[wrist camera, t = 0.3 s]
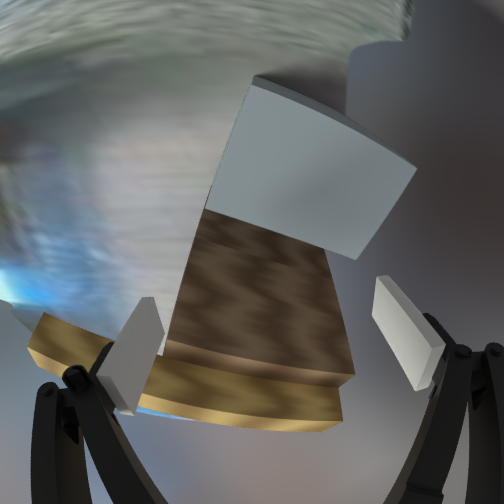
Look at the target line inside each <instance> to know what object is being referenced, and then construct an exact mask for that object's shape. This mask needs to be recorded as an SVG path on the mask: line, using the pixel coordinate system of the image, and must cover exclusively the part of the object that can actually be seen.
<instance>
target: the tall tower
mask: <svg viewBox="0 0 504 504" xmlns="http://www.w3.org/2000/svg"><path fill="white" fill-rule="evenodd" d="M211 187H212V186H211ZM210 191H211V189H210ZM210 191H209V194H210ZM209 194H208V197H209ZM208 197H207V200H208ZM207 200H206V203H207ZM206 203H205V206H206ZM205 206H204V209H203V212H202V215H201V218H200V221H199V225H198V228H197V231H196V234H195V237H194V240H193V244H192V247H191V250H190V254H189V257H188V260H187V264H186V267H185V271H184V274H183V278H182V281H181V285H180V289H179V292H178V296H177V300H176V303H175V307H174V311H173V315H172V319H171V323H170V327H169V331H168V335H167V339H166V343H165V347H164V351H163V356H164V357H168V358H171V359H175V360H179V361H183V362H186V363H190V364H194V365H198V366H203V367H207V368H211V369H216V370H221V371H225V372H230V373H235V374H240V375H246V376H251V377H257V378H263V379H269V380H276V381H282V382H290V383H297V384H306V385H315V386H325V387H337V388H338V387H340V386H341V385H342V384H344V383H345V382H347V381H348V380H349V379H351V378H352V377H353V376H355V371H354V366H353V361H352V356H351V352H350V347H349V343H348V338H347V334H346V330H345V326H344V322H343V318H342V313H341V309H340V306H339V302H338V298H337V294H336V290H335V286H334V283H333V279H332V276H331V272H330V268H329V265H328V261H327V258H326V255H325V252H324V248H321V247H318V246H315V245H312V244H309V243H307V242H304V241H301V240H298V239H295V238H292V237H289V236H286V235H283V234H281V233H278V232H275V231H272V230H269V229H266V228H263V227H260V226H257V225H254V224H251V223H248V222H245V221H242V220H239V219H236V218H233V217H230V216H227V215H224V214H221V213H217V212H214V211H211V210H208V209H205Z"/></svg>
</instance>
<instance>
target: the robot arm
mask: <svg viewBox="0 0 504 504" xmlns="http://www.w3.org/2000/svg"><path fill="white" fill-rule="evenodd" d="M372 316H373V318H374V320H375V321H376V323H377V325H378V326H379V328H380V330H381V331H382V333H383V335H384V336H385V338H386V340H387V341H388V343H389V345H390V347H391V348H392V350H393V352H394V354H395V355H396V357H397V359H398V361H399V362H400V364H401V366H402V368H403V369H404V372H405V373H406V375H407V377H408V379H409V381H410V382H411V384H412V386H413V388H414V390H415V391H418V390H421V389H424V388H427V387H428V386H429V384H430V382H431V380H432V379H433V381H434V383H435V386H434V388H433V390H432V392H431V394H430V396H429V399H430V400H429V404H428V406H427V409H426V412H425V415H424V418H423V421H422V423H421V426H420V429H419V431H418V434H417V436H416V439H415V441H414V444H413V446H412V448H411V451H410V453H409V455H408V457H407V459H406V461H405V464H404V466H403V468H402V470H401V472H400V474H399V476H398V478H397V480H396V482H395V484H394V486H393V487H392V489H391V491H390V493H389V494H388V496H387V498H386V500H385V501H384V503H383V504H442V501H443V497H444V495H443V494H442V489H443V486H444V483H445V481H446V478H447V476H448V473H449V470H450V467H451V464H452V461H453V458H454V455H455V451H456V448H457V445H458V441H459V437H460V433H461V429H462V425H463V421H464V416H465V412H466V407H467V402H468V412H469V469H468V483H467V491H466V499H465V504H504V347H503V346H502V345H500V344H498V343H494V342H493V343H489V344H487V346H486V348H485V350H484V351H482V352H481V351H480V352H472V350H471V349H470V348H469V347H467V346H465V345H461V344H456V343H455V341H454V340H453V339H452V338H451V337H450V335H449V334H448V333H447V332H446V331H445V329H443V327H442V326H441V325H440V324H439V322H438V321H437V320H436V319H435V317H433V316H431V315H430V314H428V313H424V314H421V313H420V311H419V310H418V309H417V308H416V307H415V306H414V304H413V303H412V302H411V301H410V300H409V299H408V297H407V296H406V295H405V294H404V293H403V292H402V290H401V289H400V288H399V287H398V286H397V285H396V284H395V283H394V282H393V280H392V279H391V278H390V277H389V276H388V275H386V276H378V277H377V279H376V288H375V297H374V304H373V311H372ZM164 335H165V332H164V329H163V326H162V323H161V320H160V317H159V314H158V310H157V307H156V304H155V300H154V297H142V298H141V300H140V302H139V303H138V305H137V306H136V308H135V309H134V311H133V313H132V314H131V316H130V318H129V319H128V321H127V322H126V324H125V326H124V327H123V329H122V331H121V332H120V334H119V336H118V337H117V339H116V341H115V342H109V343H108V344H107V345H105V346H104V347H103V349H102V350H101V352H100V354H99V355H98V357H97V359H96V361H95V362H94V364H93V365H92V367H91V369H90V371H89V372H87V370H86V369H85V367H84V366H82V365H73V366H70V367H69V368H67V369H66V370H65V371H64V372H63V374H62V380H63V382H64V383H65V385H66V386H67V388H64V389H59V388H58V386H57V385H56V383H54V382H47V383H44V384H43V385H42V386H41V387H40V388H39V389H38V392H37V397H36V403H35V411H34V419H33V430H32V443H31V495H32V496H31V497H32V504H92V499H91V494H90V488H89V483H88V476H87V468H86V460H85V452H84V439H83V435H84V438H85V441H86V444H87V446H88V449H89V451H90V454H91V456H92V459H93V461H94V464H95V466H96V468H97V471H98V473H99V475H100V477H101V480H102V482H103V483H104V486H105V488H106V490H107V492H108V494H109V496H110V498H111V500H112V502H113V503H114V504H168V502H167V501H166V500H165V498H164V497H163V496H162V494H161V493H160V492H159V490H158V488H157V487H156V486H155V484H154V483H153V481H152V479H151V478H150V477H149V475H148V473H147V472H146V470H145V469H144V467H143V465H142V464H141V462H140V460H139V459H138V457H137V455H136V454H135V452H134V450H133V448H132V447H131V445H130V443H129V441H128V439H127V437H126V436H125V434H124V432H123V430H122V428H121V426H120V424H119V422H118V420H117V418H116V416H115V414H114V413H113V411H114V409H115V407H116V408H117V409H118V411H119V412H120V414H126V415H134V414H135V411H136V408H137V406H138V403H139V400H140V397H141V395H142V392H143V389H144V386H145V384H146V381H147V378H148V376H149V373H150V371H151V368H152V365H153V363H154V360H155V358H156V355H157V352H158V350H159V347H160V345H161V342H162V340H163V337H164Z"/></svg>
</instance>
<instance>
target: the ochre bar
mask: <svg viewBox="0 0 504 504" xmlns="http://www.w3.org/2000/svg"><path fill="white" fill-rule="evenodd" d="M109 342H115V341H114V340H111V339H108V338H105V337H102V336H100V335H97V334H94V333H92V332H89V331H87V330H84V329H82V328H79V327H77V326H74V325H72V324H69V323H67V322H65V321H62V320H60V319H58V318H56V317H53V316H51V315H49V314H47V313H45V312H44V313H43V315H42V317H41V319H40V321H39V323H38V325H37V327H36V329H35V331H34V333H33V334H32V337H31V339H30V341H29V343H28V345H27V348H28V350H29V352H30V353H31V355H32V357H33V359H34V360H35V362H36V364H37V365H38V366H39V367H41V368H43V369H45V370H47V371H49V372H51V373H53V374H55V375H57V376H60V377H62V374H63V372H64V371H65V370H66V369H67V368H69V367H70V366H73V365H82V366H84V367H85V369H86V370H87V372H89V371H90V369H91V367H92V365H93V364H94V362H95V361H96V359H97V357H98V355H99V354H100V352H101V350H102V349H103V347H104V346H105V345H107V344H108V343H109ZM138 406H141V407H144V408H148V409H151V410H155V411H159V412H163V413H167V414H171V415H175V416H180V417H184V418H189V419H194V420H199V421H204V422H210V423H216V424H222V425H229V426H237V427H244V428H253V429H264V430H277V431H294V432H323V431H325V430H326V429H329V428H330V427H333V426H335V425H336V424H339V423H341V422H342V421H343V417H342V410H341V403H340V396H339V390H338V388H337V387H325V386H315V385H306V384H297V383H290V382H282V381H276V380H269V379H263V378H257V377H251V376H246V375H240V374H235V373H230V372H225V371H221V370H216V369H211V368H207V367H203V366H198V365H194V364H190V363H186V362H183V361H179V360H175V359H171V358H168V357H164V356H161V355H156V358H155V360H154V363H153V365H152V368H151V371H150V373H149V376H148V378H147V381H146V384H145V386H144V389H143V392H142V395H141V397H140V400H139V403H138Z"/></svg>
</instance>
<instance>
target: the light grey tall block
mask: <svg viewBox="0 0 504 504" xmlns="http://www.w3.org/2000/svg"><path fill="white" fill-rule="evenodd" d="M416 170H417V168H416V167H415V166H414V165H412V164H411V163H410V162H409V161H408V160H406V159H405V158H404V157H403V156H402V155H400V154H399V153H398V152H396V151H395V150H394V149H393V148H391V147H390V146H389V145H387V144H386V143H385V142H383V141H382V140H381V139H379V138H378V137H377V136H375V135H374V134H372V133H371V132H369V131H368V130H367V129H365V128H364V127H362V126H361V125H359V124H358V123H356V122H355V121H353V120H352V119H350V118H349V117H347V116H346V115H344V114H342V113H340V112H338V111H336V110H334V109H332V108H330V107H328V106H326V105H324V104H322V103H320V102H318V101H315V100H313V99H311V98H309V97H307V96H304V95H302V94H300V93H298V92H295V91H293V90H291V89H288V88H286V87H283V86H281V85H278V84H276V83H273V82H271V81H268V80H265V79H263V78H260V77H257V76H254V77H253V79H252V82H251V84H250V86H249V89H248V91H247V93H246V96H245V98H244V101H243V103H242V106H241V108H240V111H239V113H238V116H237V118H236V121H235V123H234V126H233V128H232V131H231V134H230V136H229V139H228V142H227V144H226V147H225V150H224V153H223V155H222V158H221V161H220V164H219V167H218V170H217V173H216V176H215V179H214V182H213V185H212V187H211V191H210V194H209V197H208V200H207V203H206V206H205V209H208V210H211V211H214V212H217V213H221V214H224V215H227V216H230V217H233V218H236V219H239V220H242V221H245V222H248V223H251V224H254V225H257V226H260V227H263V228H266V229H269V230H272V231H275V232H278V233H281V234H283V235H286V236H289V237H292V238H295V239H298V240H301V241H304V242H307V243H309V244H312V245H315V246H318V247H321V248H324V249H327V250H329V251H332V252H335V253H338V254H340V255H343V256H346V257H349V258H351V259H354V260H356V259H357V258H358V257H359V255H360V254H361V252H362V251H363V250H364V248H365V247H366V246H367V244H368V243H369V241H370V240H371V239H372V237H373V236H374V234H375V233H376V231H377V230H378V229H379V227H380V226H381V224H382V222H383V221H384V220H385V218H386V217H387V215H388V214H389V212H390V211H391V209H392V208H393V206H394V205H395V203H396V202H397V200H398V199H399V197H400V196H401V194H402V192H403V191H404V189H405V188H406V186H407V185H408V183H409V182H410V180H411V178H412V177H413V175H414V173H415V172H416Z"/></svg>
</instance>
